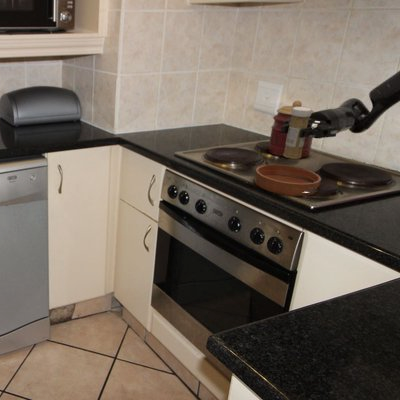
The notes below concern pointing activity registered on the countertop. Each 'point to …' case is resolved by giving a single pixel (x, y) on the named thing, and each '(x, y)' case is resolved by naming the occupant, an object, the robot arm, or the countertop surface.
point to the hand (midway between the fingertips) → (291, 131)
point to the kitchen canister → (279, 138)
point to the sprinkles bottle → (296, 132)
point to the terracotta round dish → (286, 180)
